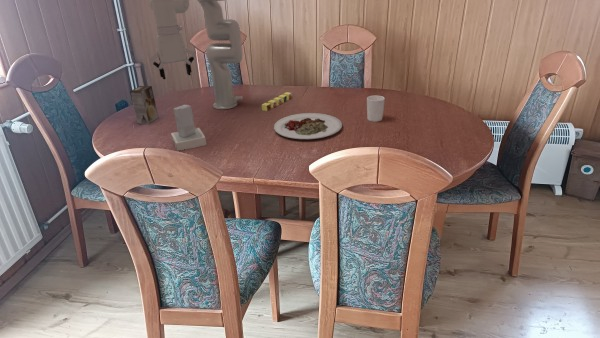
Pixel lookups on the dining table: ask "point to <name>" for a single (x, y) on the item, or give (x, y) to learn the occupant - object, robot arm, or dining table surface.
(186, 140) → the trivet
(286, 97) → the yellow segmented block row
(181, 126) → the skincare box
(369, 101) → the white cup
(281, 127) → the plated food
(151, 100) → the coffee box
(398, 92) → the dining table surface
